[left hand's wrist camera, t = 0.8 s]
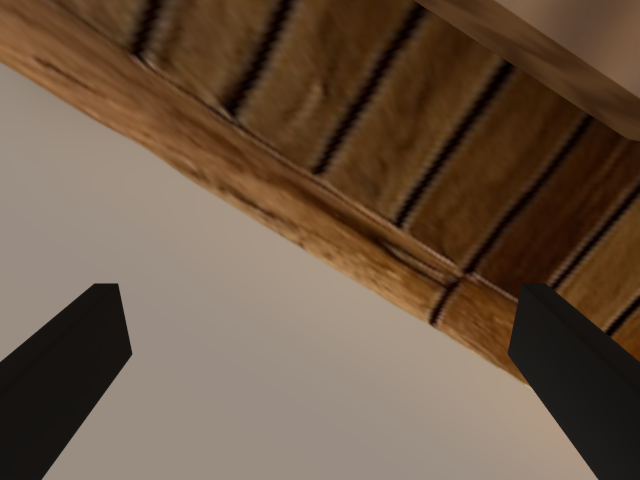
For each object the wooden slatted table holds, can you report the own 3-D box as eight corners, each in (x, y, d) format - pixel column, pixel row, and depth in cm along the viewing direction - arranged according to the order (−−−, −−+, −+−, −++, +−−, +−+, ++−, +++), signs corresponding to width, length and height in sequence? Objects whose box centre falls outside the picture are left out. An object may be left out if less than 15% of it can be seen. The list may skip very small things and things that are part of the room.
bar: (367, -29, 29) (385, -74, 21) (408, -111, 27) (441, -189, 20) (628, 139, 33) (717, 151, 26) (676, 78, 31) (786, 71, 24)
